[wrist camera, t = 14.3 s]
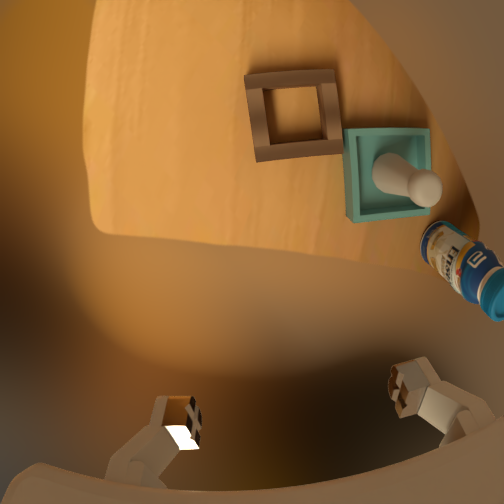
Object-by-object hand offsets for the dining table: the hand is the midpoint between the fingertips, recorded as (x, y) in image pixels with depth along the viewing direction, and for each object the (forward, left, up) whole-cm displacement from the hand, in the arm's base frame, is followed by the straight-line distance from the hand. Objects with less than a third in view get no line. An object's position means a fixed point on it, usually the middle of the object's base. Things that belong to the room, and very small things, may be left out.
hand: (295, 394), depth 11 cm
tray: (-2, +19, -34) cm, 39 cm away
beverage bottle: (+11, +30, -34) cm, 47 cm away
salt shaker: (-2, +18, -33) cm, 38 cm away
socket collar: (-11, +6, -34) cm, 36 cm away
